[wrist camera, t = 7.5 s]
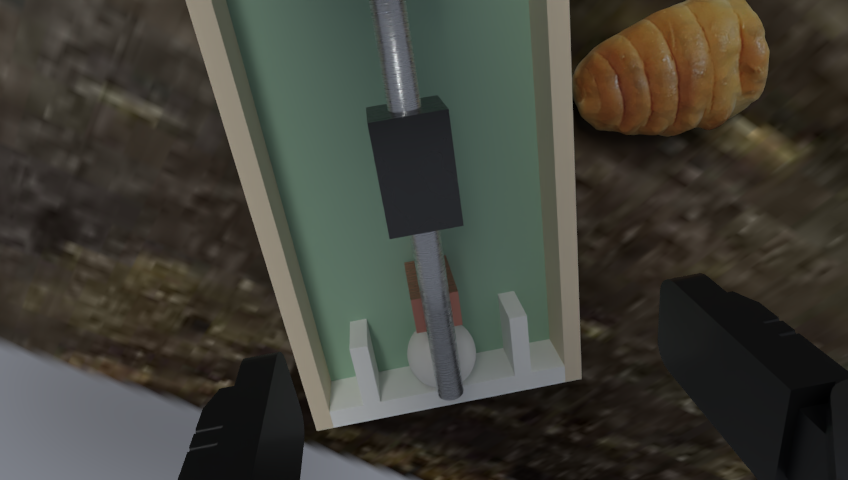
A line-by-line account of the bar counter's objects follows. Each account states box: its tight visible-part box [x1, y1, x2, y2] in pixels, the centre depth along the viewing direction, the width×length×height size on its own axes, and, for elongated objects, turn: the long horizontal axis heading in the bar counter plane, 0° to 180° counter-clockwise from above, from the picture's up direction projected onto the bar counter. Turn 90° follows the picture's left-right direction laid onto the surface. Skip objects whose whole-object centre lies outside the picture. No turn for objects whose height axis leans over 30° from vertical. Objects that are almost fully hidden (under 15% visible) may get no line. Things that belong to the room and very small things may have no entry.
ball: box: [407, 325, 476, 388], centre depth 32 cm, size 4×4×4 cm
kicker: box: [366, 0, 464, 401], centre depth 26 cm, size 24×3×6 cm, turn 8°
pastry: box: [572, 0, 769, 137], centre depth 28 cm, size 9×7×4 cm
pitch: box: [186, 0, 582, 431], centre depth 27 cm, size 27×16×8 cm, turn 8°
